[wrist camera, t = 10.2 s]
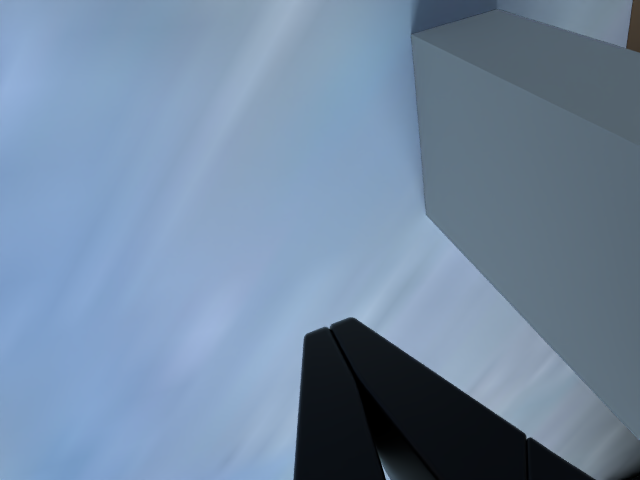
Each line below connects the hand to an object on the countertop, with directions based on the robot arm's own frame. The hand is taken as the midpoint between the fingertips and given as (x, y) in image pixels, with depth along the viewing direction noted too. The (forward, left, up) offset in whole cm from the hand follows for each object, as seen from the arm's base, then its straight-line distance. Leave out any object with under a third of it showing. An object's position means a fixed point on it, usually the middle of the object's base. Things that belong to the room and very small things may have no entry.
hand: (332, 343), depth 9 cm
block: (0, -5, -5) cm, 8 cm away
